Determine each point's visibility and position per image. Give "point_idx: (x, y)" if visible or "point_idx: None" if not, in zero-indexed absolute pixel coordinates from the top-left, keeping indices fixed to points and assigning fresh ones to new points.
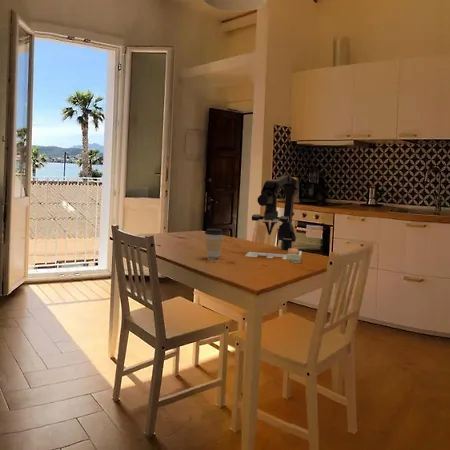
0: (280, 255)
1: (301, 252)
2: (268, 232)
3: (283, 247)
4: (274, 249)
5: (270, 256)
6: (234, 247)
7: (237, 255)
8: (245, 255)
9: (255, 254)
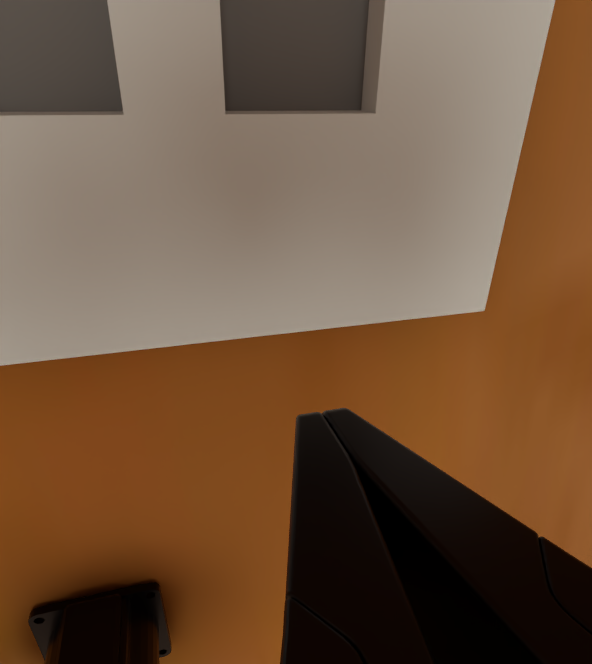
0: (34, 255)
1: None
2: (382, 443)
3: (125, 635)
4: (235, 630)
5: (168, 84)
6: (554, 525)
7: (588, 187)
8: (554, 2)
9: (409, 162)
